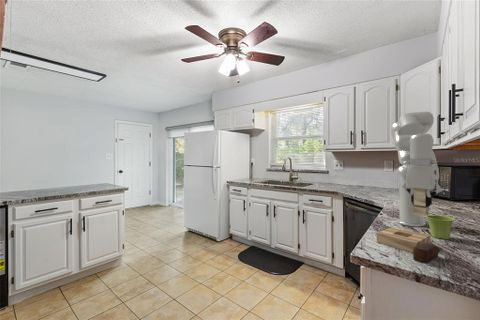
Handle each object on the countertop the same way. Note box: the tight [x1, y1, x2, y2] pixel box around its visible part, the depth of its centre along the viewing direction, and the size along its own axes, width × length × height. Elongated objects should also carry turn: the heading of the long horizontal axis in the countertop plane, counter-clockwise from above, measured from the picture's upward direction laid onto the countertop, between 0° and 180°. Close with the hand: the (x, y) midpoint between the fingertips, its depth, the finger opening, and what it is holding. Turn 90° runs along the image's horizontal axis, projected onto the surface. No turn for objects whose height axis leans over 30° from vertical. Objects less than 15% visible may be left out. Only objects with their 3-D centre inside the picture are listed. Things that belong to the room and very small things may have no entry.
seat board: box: [376, 226, 432, 253], centre depth 93 cm, size 14×14×4 cm
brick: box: [412, 242, 439, 265], centre depth 80 cm, size 11×4×5 cm, turn 122°
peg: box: [414, 187, 430, 218], centre depth 98 cm, size 4×4×12 cm
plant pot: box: [426, 214, 455, 240], centre depth 101 cm, size 9×9×9 cm
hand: (421, 204), depth 98 cm, fingers closed on peg, 4 cm apart
